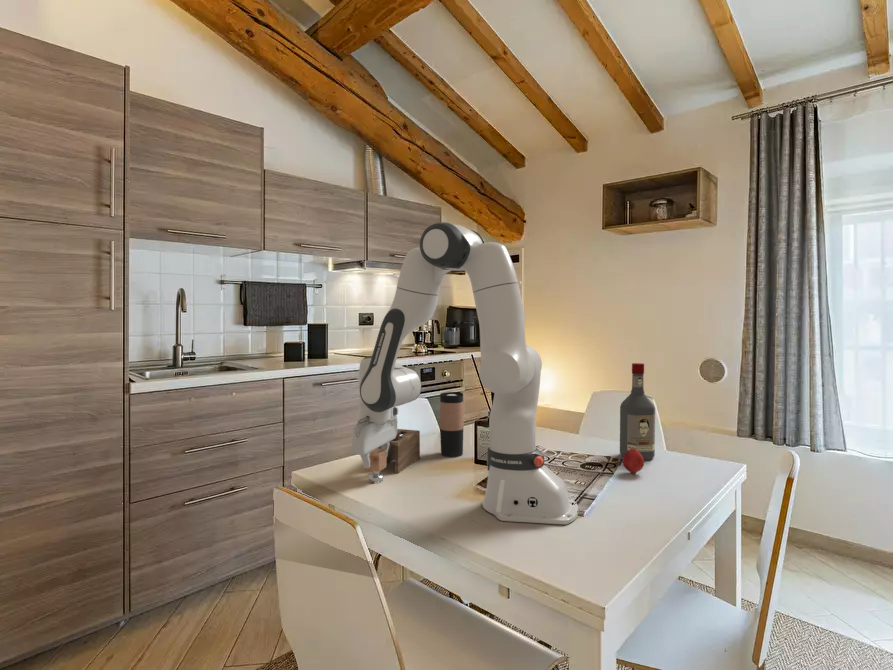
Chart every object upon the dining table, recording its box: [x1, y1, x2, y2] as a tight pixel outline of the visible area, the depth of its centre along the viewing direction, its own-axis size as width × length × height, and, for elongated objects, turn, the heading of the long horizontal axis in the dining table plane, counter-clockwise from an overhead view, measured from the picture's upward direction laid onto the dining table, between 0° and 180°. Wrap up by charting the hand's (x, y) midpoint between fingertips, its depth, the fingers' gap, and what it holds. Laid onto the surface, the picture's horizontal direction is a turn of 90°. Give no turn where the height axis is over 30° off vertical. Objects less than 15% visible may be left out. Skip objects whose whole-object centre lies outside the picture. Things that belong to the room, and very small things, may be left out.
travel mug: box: [439, 391, 464, 458], centre depth 171 cm, size 8×8×20 cm
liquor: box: [619, 362, 656, 461], centre depth 167 cm, size 9×9×30 cm
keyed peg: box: [364, 448, 388, 483], centre depth 145 cm, size 4×4×8 cm
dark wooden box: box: [378, 428, 421, 474], centre depth 160 cm, size 8×16×9 cm, turn 160°
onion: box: [621, 447, 645, 475], centre depth 150 cm, size 6×6×8 cm
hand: (375, 462), depth 145 cm, fingers open, 8 cm apart
